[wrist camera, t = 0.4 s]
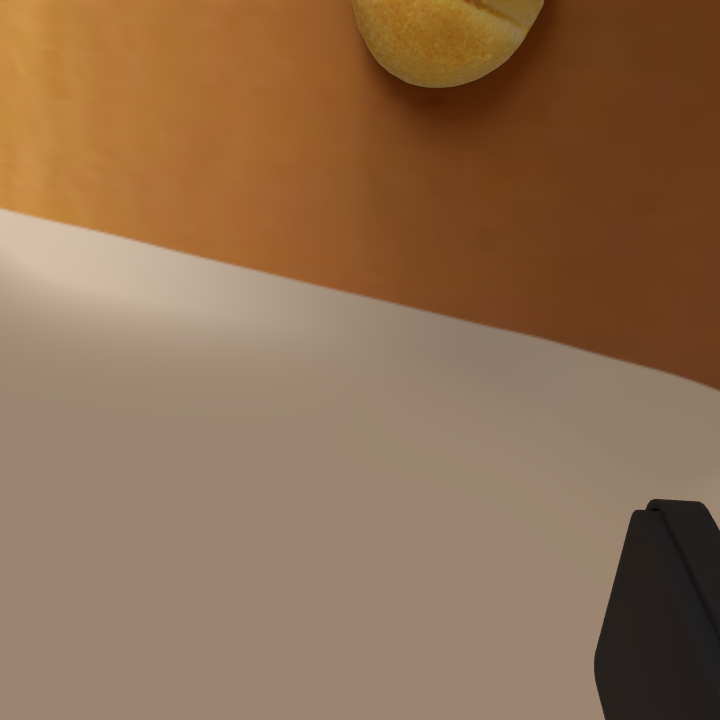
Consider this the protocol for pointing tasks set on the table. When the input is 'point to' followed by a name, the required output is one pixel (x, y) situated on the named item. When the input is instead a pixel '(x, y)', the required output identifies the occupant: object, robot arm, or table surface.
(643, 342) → the table surface
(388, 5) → the bread roll
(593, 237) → the table surface
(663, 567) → the robot arm
